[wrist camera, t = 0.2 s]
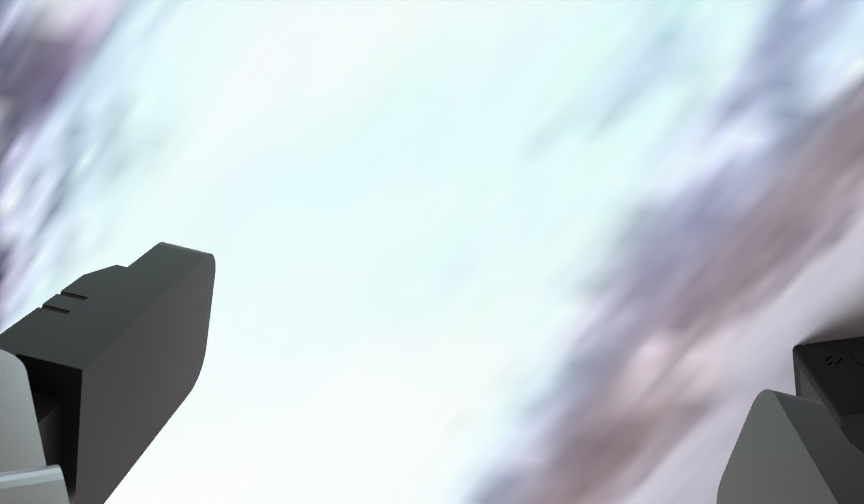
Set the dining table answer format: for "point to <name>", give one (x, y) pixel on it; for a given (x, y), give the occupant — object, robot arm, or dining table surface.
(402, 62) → the dining table surface
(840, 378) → the digital camera
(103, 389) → the robot arm
